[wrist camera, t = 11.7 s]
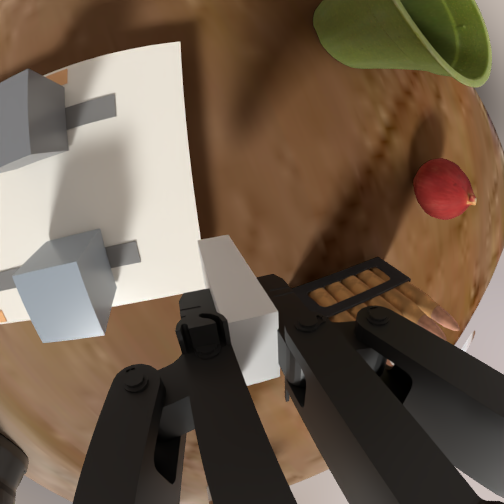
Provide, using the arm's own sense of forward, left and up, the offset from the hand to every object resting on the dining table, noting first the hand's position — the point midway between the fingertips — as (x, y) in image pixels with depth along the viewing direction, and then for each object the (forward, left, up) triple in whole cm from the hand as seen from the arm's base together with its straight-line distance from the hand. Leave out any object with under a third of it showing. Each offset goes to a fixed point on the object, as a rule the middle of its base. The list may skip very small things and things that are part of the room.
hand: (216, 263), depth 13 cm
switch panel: (-13, +4, -7) cm, 16 cm away
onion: (+22, +1, -7) cm, 23 cm away
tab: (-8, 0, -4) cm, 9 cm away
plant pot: (+14, +15, -7) cm, 22 cm away
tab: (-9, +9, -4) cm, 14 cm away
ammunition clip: (+12, -8, -7) cm, 16 cm away
